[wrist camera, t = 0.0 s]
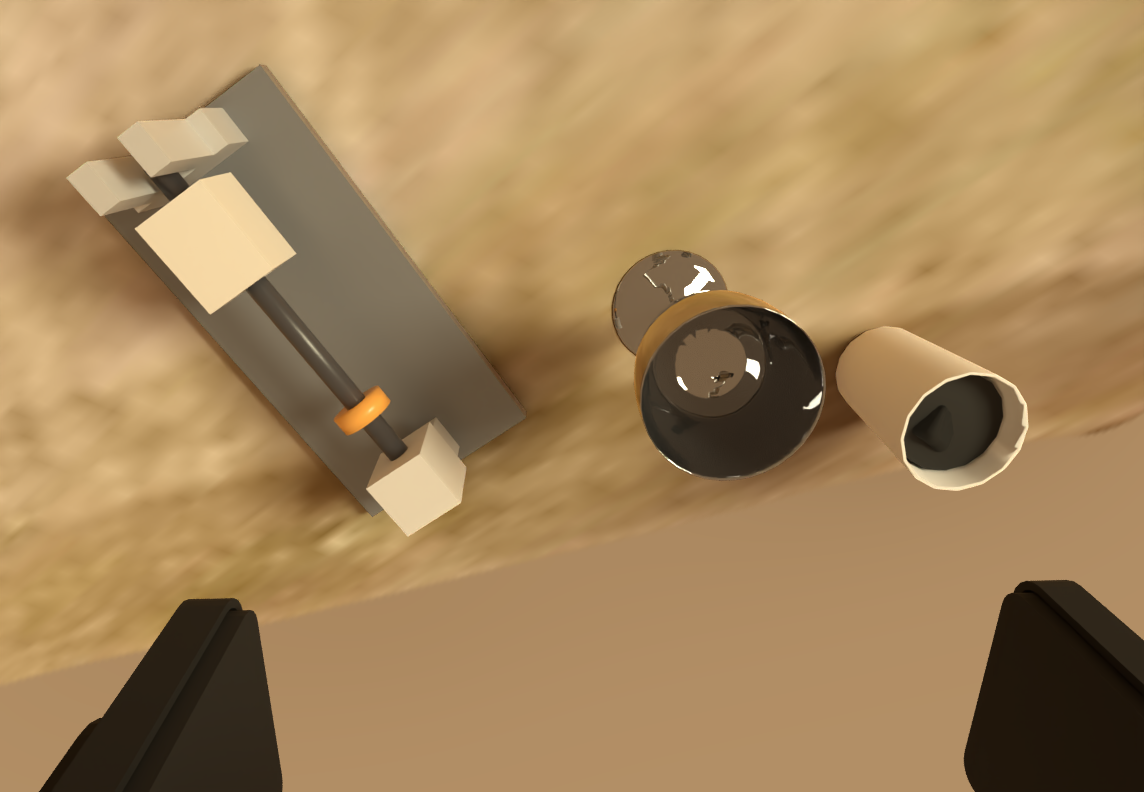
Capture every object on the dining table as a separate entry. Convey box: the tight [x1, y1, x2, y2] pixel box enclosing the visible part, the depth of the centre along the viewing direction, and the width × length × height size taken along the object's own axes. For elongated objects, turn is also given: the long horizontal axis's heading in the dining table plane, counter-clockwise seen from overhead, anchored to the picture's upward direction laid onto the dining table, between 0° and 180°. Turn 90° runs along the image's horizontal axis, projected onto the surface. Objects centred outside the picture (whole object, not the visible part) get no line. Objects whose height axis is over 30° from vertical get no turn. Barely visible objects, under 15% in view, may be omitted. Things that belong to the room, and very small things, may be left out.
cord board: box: [66, 65, 526, 536], centre depth 41 cm, size 24×12×9 cm, turn 34°
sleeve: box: [135, 172, 296, 314], centre depth 38 cm, size 5×4×4 cm
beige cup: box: [836, 326, 1028, 491], centre depth 44 cm, size 7×7×10 cm
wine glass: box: [613, 250, 826, 481], centre depth 40 cm, size 8×8×15 cm
